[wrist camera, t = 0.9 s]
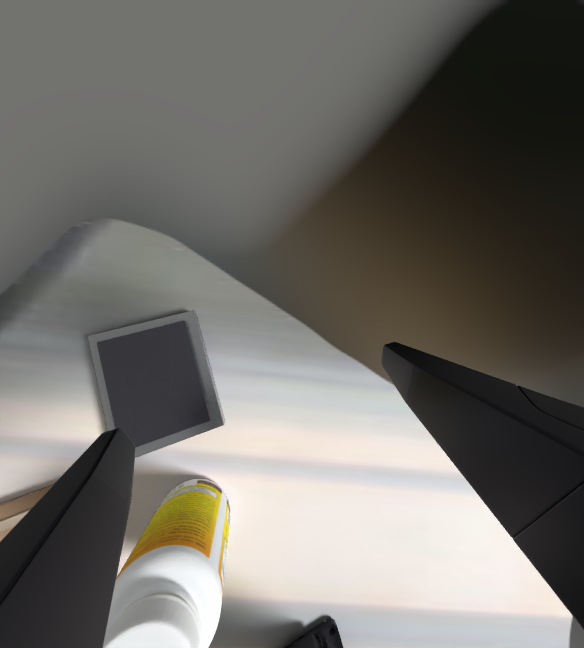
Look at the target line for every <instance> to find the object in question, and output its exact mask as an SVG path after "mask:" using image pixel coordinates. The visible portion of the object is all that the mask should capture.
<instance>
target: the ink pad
mask: <svg viewBox="0 0 584 648" xmlns="http://www.w3.org/2000/svg"><path fill="white" fill-rule="evenodd" d="M88 341H89V345H90V350H91V355H92V359H93V364H94V369H95V373H96V378H97V383H98V387H99V392H100V397H101V402H102V406H103V411H104V416H105V420H106V425H107V430H108V431H110V430H113V429H116V428H120V429H122V430H123V431H124V432H125V433H126V434H127V435H128V436H129V437H130V438H131V440H132V441H133V442H134V444H135V458H136V457H139V456H141V455H144V454H147V453H150V452H152V451H155V450H158V449H160V448H163V447H166V446H168V445H171V444H174V443H177V442H179V441H182V440H185V439H187V438H190V437H193V436H195V435H198V434H201V433H203V432H206V431H209V430H212V429H214V428H217V427H220V426H222V425H224V423H225V419H224V415H223V412H222V408H221V404H220V401H219V397H218V393H217V389H216V386H215V382H214V378H213V374H212V371H211V367H210V363H209V360H208V356H207V352H206V348H205V345H204V341H203V337H202V334H201V330H200V326H199V322H198V319H197V315H196V313H195V312H194V311H189V312H185V313H181V314H177V315H172V316H168V317H164V318H160V319H156V320H152V321H148V322H144V323H140V324H135V325H131V326H127V327H123V328H119V329H115V330H111V331H107V332H103V333H98V334H94V335H90V336H88Z"/></svg>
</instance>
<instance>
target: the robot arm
mask: <svg viewBox="0 0 584 648" xmlns="http://www.w3.org/2000/svg"><path fill="white" fill-rule="evenodd" d="M382 365H383V368H384V369H385V371H386V372H387V374H388V376H389V377H390V379H391V380H392V382H393V383H394V385H395V387H396V388H397V390H398V391H399V393H400V394H401V396H402V398H403V399H404V401H405V402H406V403H407V405H408V406H409V407H410V409H411V410H412V411H413V412H414V414H415V415H416V416H417V418H418V419H419V420H420V421H421V423H422V424H423V425H424V426H425V428H426V429H427V430H428V432H429V433H430V434H431V435H432V437H433V438H434V439H435V440H436V442H437V443H438V444H439V446H440V447H441V448H442V449H443V451H444V452H445V453H446V454H447V456H448V457H449V458H450V460H451V461H452V462H453V463H454V465H455V466H456V467H457V468H458V470H459V471H460V472H461V474H462V475H463V476H464V477H465V479H466V480H467V481H468V482H469V484H470V485H471V486H472V488H473V489H474V490H475V491H476V493H477V494H478V495H479V496H480V498H481V499H482V500H483V502H484V503H485V504H486V505H487V507H488V508H489V509H490V510H491V512H492V513H493V514H494V516H495V517H496V518H497V519H498V521H499V522H500V523H501V524H502V526H503V527H504V528H505V530H506V531H507V532H508V533H509V535H510V536H511V537H512V538H513V540H514V541H515V543H516V544H517V545H518V546H519V548H520V549H521V550H522V552H523V553H524V554H525V555H526V557H527V558H528V559H529V560H530V562H531V563H532V564H533V566H534V567H535V568H536V569H537V571H538V572H539V573H540V574H541V576H542V577H543V578H544V580H545V581H546V582H547V583H548V585H549V586H550V587H551V588H552V590H553V591H554V592H555V594H556V595H557V596H558V597H559V599H560V600H561V601H562V602H563V604H564V605H565V606H566V608H567V609H568V610H569V611H570V613H571V614H572V615H573V616H574V618H575V619H576V620H577V621H578V623H579V624H580V625H581V627H582V628H583V629H584V407H581V406H578V405H575V404H571V403H568V402H565V401H561V400H559V399H556V398H553V397H550V396H547V395H544V394H541V393H538V392H535V391H533V390H530V389H527V388H524V387H521V386H516V385H515V384H513V383H510V382H507V381H504V380H501V379H499V378H496V377H493V376H490V375H487V374H484V373H482V372H479V371H476V370H473V369H470V368H467V367H465V366H462V365H459V364H456V363H453V362H450V361H448V360H445V359H442V358H439V357H436V356H434V355H431V354H428V353H425V352H422V351H420V350H417V349H414V348H411V347H408V346H405V345H403V344H400V343H397V342H391V343H389V344H385V345H384V346H383V353H382ZM134 460H135V444H134V442H133V441H132V440H131V438H130V437H129V436H128V435H127V434H126V433H125V432H124V431H123V430H122V429H120V428H116V429H113V430H110V431H106V432H104V433H102V434H101V435H100V436H99V437H98V438H97V439H96V440H95V442H94V443H93V444H92V445H91V446H90V447H89V448H88V449H87V450H86V451H85V452H84V453H83V454H82V455H81V456H80V457H79V459H78V460H77V461H76V462H75V463H74V464H73V465H72V466H71V467H70V468H69V469H68V470H67V471H66V472H65V473H64V474H63V476H62V477H61V478H60V479H59V480H58V481H57V482H56V483H55V484H54V485H53V486H52V487H51V488H50V489H49V490H48V491H47V493H46V494H45V495H44V496H43V497H42V498H41V499H40V500H39V501H38V502H37V503H36V504H35V505H34V506H33V507H32V508H31V510H30V511H29V512H28V513H27V514H26V515H25V516H24V517H23V518H22V519H21V520H20V521H19V522H18V523H17V524H16V525H15V527H14V528H13V529H12V530H11V531H10V532H9V533H8V534H7V535H6V536H5V537H4V538H3V539H2V540H1V541H0V648H103V644H104V639H105V634H106V628H107V623H108V618H109V613H110V608H111V603H112V597H113V592H114V587H115V582H116V577H117V571H118V566H119V561H120V556H121V551H122V546H123V540H124V535H125V530H126V525H127V520H128V514H129V509H130V503H131V495H132V483H133V472H134ZM331 628H332V629H331ZM330 629H331V630H330ZM285 648H343V645H342V642H341V638H340V635H339V631H338V628H337V625H336V622H335V620H333V619H328V620H327V621H325V622H324V623H322V624H321V625H319V626H317V627H316V628H314V629H313V630H311V631H310V632H308V633H307V634H305V635H303V636H302V637H300V638H299V639H297V640H296V641H294V642H293V643H291V644H289V645H288V646H286V647H285Z"/></svg>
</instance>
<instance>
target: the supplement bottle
mask: <svg viewBox="0 0 584 648" xmlns="http://www.w3.org/2000/svg"><path fill="white" fill-rule="evenodd" d="M229 521H230V506H229V501H228V498H227V496H226V494H225V492H224V491H223V489H222V488H221V487H220V486H219V485H217V484H216V483H214V482H212V481H210V480H207V479H192V480H189V481H186V482H184V483H182V484H180V485H178V486H177V487H175V488H174V489H173V490H172V491H170V492H169V494H168V495H167V496H166V497H165V498H164V500H163V501H162V503H161V504H160V506H159V507H158V509H157V511H156V512H155V514H154V516H153V517H152V519H151V521H150V522H149V524H148V526H147V527H146V529H145V531H144V533H143V534H142V536H141V537H140V539H139V541H138V543H137V544H136V546H135V548H134V549H133V551H132V553H131V554H130V556H129V558H128V559H127V561H126V563H125V565H124V566H123V568H122V570H121V571H120V573H119V575H118V576H117V578H116V582H115V587H114V592H113V597H112V603H111V608H110V613H109V618H108V623H107V628H106V634H105V639H104V644H103V648H208V647H209V645H210V643H211V641H212V639H213V637H214V634H215V632H216V629H217V626H218V622H219V618H220V612H221V606H222V596H223V586H224V575H225V564H226V554H227V543H228V532H229Z"/></svg>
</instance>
